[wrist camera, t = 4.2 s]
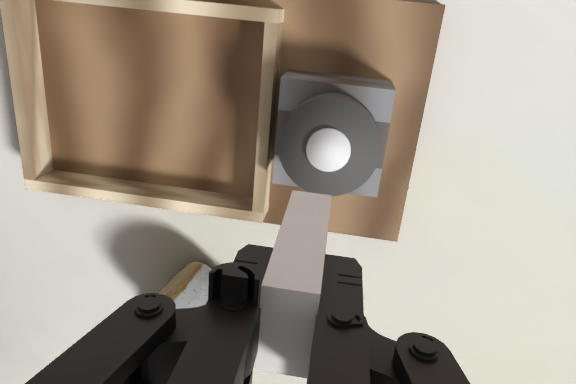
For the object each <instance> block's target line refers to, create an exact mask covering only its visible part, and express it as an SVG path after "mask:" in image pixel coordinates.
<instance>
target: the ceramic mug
mask: <svg viewBox="0 0 576 384" xmlns="http://www.w3.org/2000/svg"><path fill="white" fill-rule="evenodd" d="M211 270H212V269H211V268H210V267H208V266H207V265H205V264H204V263H201V262H191V263H189V264H188V265H187V266H185V267H184V268H183V269H182V270H181V271H179V272H178V273H177V274H176V275H175V276H174V277H173V278H172V279H171V280H170V281H169V282H168V283H167V284H166V285H165V286H164V287H163V288H162V289H161V290H160V291H159V292H158V293H157V294H163V295H166V296H168V297H170V298H172V300H173V301H174V302H175V304H176V309H181V308H193V307H199V306H202V305H205V304H206V303H207V301H208V285H209V272H210V271H211Z"/></svg>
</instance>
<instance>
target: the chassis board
mask: <svg viewBox="0 0 576 384" xmlns="http://www.w3.org/2000/svg"><path fill="white" fill-rule="evenodd" d="M0 9H1V17H2V24H3V31H4V38H5V45H6V53H7V60H8V67H9V74H10V81H11V89H12V96H13V103H14V110H15V117H16V125H17V132H18V139H19V146H20V153H21V160H22V168H23V175H24V182H25V189H30V190H37V191H44V192H51V193H58V194H65V195H72V196H79V197H86V198H93V199H100V200H107V201H114V202H121V203H128V204H134V205H141V206H148V207H155V208H162V209H169V210H176V211H183V212H190V213H197V214H204V215H211V216H218V217H225V218H232V219H239V220H246V221H253V222H259V223H262V222H265V223H272V224H279V225H281V224H282V221H283V218H284V215H285V212H286V209H287V206H288V203H289V200H290V197H291V194H292V190H295V191H302V192H308V191H306V190H304V189H302V188H301V187H299V186H298V185H297V184H295V183H294V182H293V181H292V180H291V179H290V178H289V176H288V175H287V174H286V172H285V170H284V168H283V166H282V164H281V161H280V157H279V150H278V146H279V137H280V133H281V130H282V128H283V126H284V124H285V122H286V121H287V119H288V117H289V116H290V114H291V113H292V111H293V110H294V109H295V108H296V107H297V106H298V105H299V104H300V103H301V102H302V101H304V100H305V99H307V98H309V97H311V96H314V95H316V94H320V93H327V92H335V93H342V94H345V95H348V96H351V97H353V98H355V99H356V100H358V101H360V102H361V103H362V104H363V105H364V106H365V107H366V108H367V109H368V110H369V111H370V113H371V114H372V116H373V117H374V119H375V122H376V124H377V128H378V133H379V139H380V157H379V161H378V164H377V166H376V169H375V170H374V172H373V174H372V175H371V177H370V178H369V179H368V180H367V181H366V182H365V183H364V184H363V185H362V186H360V187H359V188H357V189H356V190H354V191H352V192H350V193H347V194H344V195H339V196H331V205H330V214H329V223H328V232H334V233H341V234H348V235H355V236H362V237H369V238H376V239H383V240H390V241H397V239H398V234H399V229H400V225H401V220H402V215H403V210H404V205H405V200H406V195H407V190H408V185H409V180H410V176H411V171H412V166H413V161H414V156H415V151H416V146H417V141H418V136H419V132H420V127H421V122H422V117H423V112H424V107H425V102H426V97H427V92H428V88H429V83H430V78H431V73H432V68H433V63H434V58H435V53H436V48H437V44H438V39H439V34H440V29H441V24H442V19H443V14H444V9H445V5H443V4H432V3H422V2H411V1H401V0H0Z"/></svg>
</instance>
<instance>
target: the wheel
mask: <svg viewBox="0 0 576 384" xmlns="http://www.w3.org/2000/svg"><path fill="white" fill-rule="evenodd" d="M278 150H279V157H280V161H281V164H282V166H283V168H284V170H285V172H286V174H287V175H288V176H289V178H290V179H291V180H292V181H293V182H294V183H295V184H297V185H298V186H299V187H301V188H302V189H304V190H306V191H308V192H310V193H318V194H325V195H332V196H339V195H344V194H347V193H350V192H352V191H354V190H356V189H357V188H359V187H360V186H362V185H363V184H364V183H365V182H366V181H367V180H368V179H369V178H370V177H371V175H372V174H373V172H374V170H375V169H376V166H377V164H378V161H379V157H380V139H379V133H378V128H377V124H376V122H375V119H374V117H373V116H372V114H371V113H370V111H369V110H368V109H367V108H366V107H365V106H364V105H363V104H362V103H361V102H360V101H358V100H356V99H355V98H353V97H351V96H348V95H345V94H342V93H335V92H327V93H320V94H316V95H314V96H311V97H309V98H307V99H305V100H304V101H302V102H301V103H300V104H299V105H298V106H297V107H296V108H295V109H294V110H293V111H292V113H291V114H290V116H289V117H288V119H287V121H286V122H285V124H284V126H283V128H282V130H281V133H280V137H279V146H278Z"/></svg>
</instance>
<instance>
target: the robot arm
mask: <svg viewBox="0 0 576 384" xmlns="http://www.w3.org/2000/svg"><path fill="white" fill-rule="evenodd" d="M331 196H332V195H325V194H318V193H310V192H302V191H295V190H292V194H291V197H290V200H289V203H288V206H287V209H286V212H285V215H284V218H283V221H282V224H281V227H280V230H279V233H278V236H277V239H276V242H275V245H274V248H271V247H264V246H257V245H250V244H248V245H246V246H245V247H244V248H242V249H241V250H239V251H238V253H237V255H236V257H235V260H234V262H233V263H225V264H220V265H218V266H216V267H214V268H213V269H212V270H211V271H210V272H209V285H208V301H207V303H206V304H205V305H202V306H199V307H193V308H181V309H176V304H175V302H174V301H173V300H172V298H170V297H168V296H166V295H163V294H157V293H149V294H142V295H139V296H135V297H134V298H132V299H130V300H128V301H127V302H126V303H124V304H123V305H122V306H121V307H119V308H118V309H117V310H116V311H114V312H113V313H112V314H111V315H109V316H108V317H107V318H106V319H104V320H103V321H102V322H101V323H100V324H98V325H97V326H96V327H95V328H93V329H92V330H91V331H90V332H88V333H87V334H86V335H85V336H83V337H82V338H81V339H80V340H78V341H77V342H76V343H75V344H73V345H72V346H71V347H70V348H68V349H67V350H66V351H65V352H64V353H62V354H61V355H60V356H59V357H57V358H56V359H55V360H54V361H52V362H51V363H50V364H49V365H47V366H46V367H45V368H44V369H42V370H41V371H40V372H39V373H37V374H36V375H35V376H34V377H33V378H31V379H30V380H29V381H28V382H26V383H25V384H252V371H253V366H254V363H255V370H261V371H267V372H273V373H279V374H285V375H291V376H297V377H302V378H308V379H307V384H470V383H469V381H468V379H467V378H466V376H465V374H464V373H463V371H462V369H461V368H460V366H459V364H458V363H457V361H456V360H455V358H454V356H453V355H452V353H451V351H450V350H449V349H448V348H447V347H446V345H445V344H444V343H442V342H441V341H439V340H438V339H436V338H435V337H432V336H429V335H427V334H423V333H416V332H412V333H406V334H404V335H402V336H400V337H399V338H398V340H397V342H396V341H394V340H391V339H389V338H386V337H384V336H382V335H380V334H378V333H377V332H375V331H374V330H372V329H371V328H370V327H369V326H368V323H367V320H366V317H365V316H364V313H363V287H362V267H361V266H360V265H359V263H358V262H357V260H356V259H355V258H348V257H341V256H334V255H327V254H325V250H326V241H327V232H328V223H329V214H330V205H331Z"/></svg>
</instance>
